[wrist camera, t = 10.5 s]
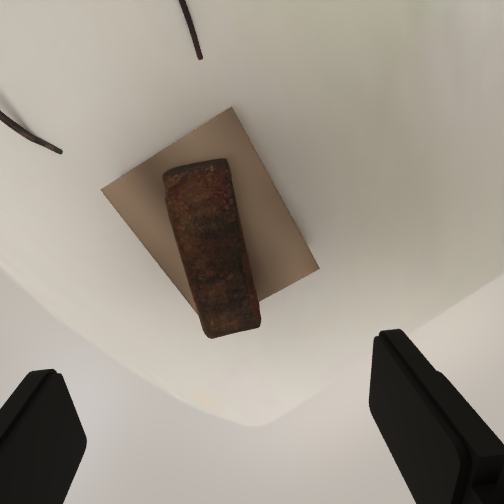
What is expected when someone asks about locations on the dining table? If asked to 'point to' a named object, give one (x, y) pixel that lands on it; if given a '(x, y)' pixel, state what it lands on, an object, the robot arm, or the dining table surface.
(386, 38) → the dining table surface
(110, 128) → the dining table surface
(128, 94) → the dining table surface
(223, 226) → the brick
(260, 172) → the beige box
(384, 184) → the dining table surface
